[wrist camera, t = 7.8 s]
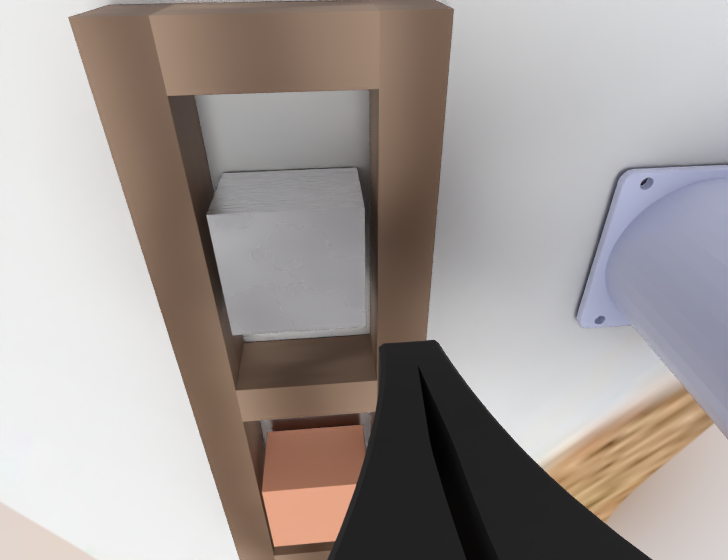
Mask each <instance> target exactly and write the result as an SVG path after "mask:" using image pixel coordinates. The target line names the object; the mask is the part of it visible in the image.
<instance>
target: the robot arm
mask: <svg viewBox="0 0 728 560" xmlns="http://www.w3.org/2000/svg"><path fill="white" fill-rule="evenodd" d="M645 178H648V180H647V181H646V183H645V184H643V185H641V186H640V184H641V182H642V181H643V180H644V179H645ZM599 316H600V317H599ZM597 317H599V318H597ZM596 318H597V319H596ZM576 320H577V322H578V323H579V325H580V326H581V327H583V328H596V327H611V326H626V325H633V326H634V327H635V329H636V330H637V331H638V332H639V333H640V335H641V336H642V337H643V338H644V339H645V341H646V342H647V343H648V344H649V345H650V347H651V348H652V349H653V350H654V351H655V353H656V354H657V355H658V356H659V357H660V359H661V360H662V361H663V362H664V363H665V365H666V366H667V367H668V368H669V369H670V371H671V372H672V373H673V374H674V375H675V377H676V378H677V379H678V380H679V381H680V383H681V384H682V385H683V386H684V387H685V389H686V390H687V391H688V392H689V393H690V395H691V396H692V397H693V398H694V399H695V401H696V402H697V403H698V404H699V405H700V407H701V408H702V409H703V410H704V411H705V413H706V414H707V415H708V416H709V417H710V419H711V420H712V421H713V422H714V423H715V425H716V426H717V427H718V428H719V429H720V430H721V432H722V433H723V434H724V435H725V436H726V438H727V439H728V165H711V166H689V167H666V168H644V169H631V170H628V171H626V172H625V173H624V174H623V175H622V176H621V177H620V179H619V181H618V183H617V187H616V190H615V193H614V196H613V200H612V203H611V206H610V209H609V213H608V216H607V219H606V222H605V226H604V229H603V232H602V235H601V239H600V242H599V245H598V249H597V252H596V255H595V258H594V262H593V265H592V268H591V271H590V275H589V278H588V281H587V284H586V288H585V291H584V294H583V297H582V301H581V304H580V307H579V310H578V314H577V317H576ZM327 560H652V559H650V558H649V557H648V556H647V555H645V554H644V553H643V552H641V551H640V550H639V549H637V548H636V547H635V546H633V545H632V544H631V543H629V542H628V541H627V540H625V539H624V538H623V537H621V536H620V535H619V534H617V533H616V532H615V531H614V530H612V529H611V528H610V527H609V526H608V525H607V524H605V523H604V522H603V521H602V520H600V519H599V518H598V517H597V516H596V515H594V514H593V513H592V512H591V511H589V510H588V509H587V508H586V507H585V506H583V505H582V504H581V503H580V502H578V501H577V500H576V499H575V498H574V497H573V496H571V495H570V494H569V493H568V492H567V491H566V490H565V489H564V488H563V487H561V486H560V485H559V484H558V483H557V482H556V481H555V480H554V479H553V478H552V477H550V476H549V475H548V474H547V473H546V472H545V471H544V470H543V469H542V468H541V467H540V466H539V465H538V464H537V463H536V462H535V461H534V460H533V459H532V458H531V457H530V456H529V455H528V454H527V453H526V452H525V451H524V450H523V449H522V448H521V447H520V446H519V445H518V444H517V443H516V442H515V440H514V439H513V438H512V437H511V436H510V435H509V434H508V433H507V432H506V431H505V429H504V428H503V427H502V426H501V425H500V424H499V423H498V422H497V420H496V419H495V418H494V417H493V416H492V415H491V413H490V412H489V411H488V410H487V409H486V407H485V406H484V405H483V404H482V402H481V401H480V400H479V399H478V397H477V396H476V395H475V394H474V392H473V391H472V390H471V389H470V387H469V386H468V385H467V383H466V382H465V381H464V379H463V378H462V377H461V375H460V374H459V373H458V371H457V370H456V368H455V367H454V366H453V364H452V363H451V361H450V360H449V358H448V357H447V355H446V354H445V352H444V351H443V349H442V348H441V346H440V344H439V343H438V342H437V341H435V340H428V341H413V342H397V343H383V344H382V345H381V346H380V347H379V363H378V399H377V405H376V411H375V417H374V421H373V426H372V430H371V434H370V438H369V442H368V446H367V450H366V454H365V458H364V461H363V465H362V468H361V471H360V474H359V478H358V481H357V484H356V487H355V490H354V493H353V496H352V498H351V501H350V504H349V507H348V509H347V512H346V515H345V518H344V520H343V523H342V526H341V528H340V531H339V533H338V536H337V538H336V541H335V543H334V545H333V547H332V550H331V552H330V554H329V557H328V559H327Z"/></svg>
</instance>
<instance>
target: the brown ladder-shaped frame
mask: <svg viewBox="0 0 728 560" xmlns="http://www.w3.org/2000/svg"><path fill="white" fill-rule="evenodd" d="M453 12H454V9H453V8H451V7H449V6H446V5H444V4H442V3H440V2H438V1H436V0H328V1H278V2H228V3H178V4H129V5H107V6H103V7H100V8H97V9H94V10H90V11H87V12H84V13H81V14H77V15H74V16H71V17H68V18H69V21H70V24H71V27H72V30H73V34H74V37H75V40H76V43H77V46H78V49H79V53H80V56H81V59H82V62H83V65H84V68H85V72H86V75H87V78H88V81H89V84H90V87H91V91H92V94H93V97H94V100H95V103H96V106H97V110H98V113H99V116H100V119H101V122H102V125H103V129H104V132H105V135H106V138H107V141H108V144H109V148H110V151H111V154H112V157H113V160H114V163H115V167H116V170H117V173H118V176H119V179H120V182H121V186H122V189H123V192H124V195H125V198H126V201H127V205H128V208H129V211H130V214H131V217H132V220H133V224H134V227H135V230H136V233H137V236H138V239H139V243H140V246H141V249H142V252H143V255H144V258H145V262H146V265H147V268H148V271H149V274H150V277H151V281H152V284H153V287H154V290H155V293H156V296H157V300H158V303H159V306H160V309H161V312H162V315H163V319H164V322H165V325H166V328H167V331H168V334H169V338H170V341H171V344H172V347H173V350H174V353H175V357H176V360H177V363H178V366H179V369H180V372H181V376H182V379H183V382H184V385H185V388H186V391H187V395H188V398H189V401H190V404H191V407H192V410H193V414H194V417H195V420H196V423H197V426H198V429H199V433H200V436H201V439H202V442H203V445H204V448H205V452H206V455H207V458H208V461H209V464H210V467H211V471H212V474H213V477H214V480H215V483H216V486H217V490H218V493H219V496H220V499H221V502H222V505H223V509H224V512H225V515H226V518H227V521H228V524H229V528H230V531H231V534H232V537H233V540H234V543H235V547H236V550H237V553H238V556H239V559H240V560H327V559H328V557H329V554H330V552H331V550H332V547H333V545H334V543H335V541H331V542H320V543H309V544H298V545H287V546H276V547H274V543H273V539H272V534H271V530H270V525H269V521H268V517H267V512H266V508H265V503H264V499H263V495H262V486H263V475H264V465H265V454H266V450H265V445H264V440H263V435H262V430H261V425H260V420H272V419H286V418H299V417H312V416H326V415H339V414H352V413H365V412H371V430H372V426H373V421H374V417H375V411H376V405H377V399H378V363H379V347H380V346H381V345H382V344H383V343H397V342H413V341H426V335H427V323H428V311H429V300H430V288H431V276H432V264H433V252H434V240H435V228H436V216H437V204H438V192H439V180H440V168H441V156H442V144H443V132H444V120H445V108H446V96H447V84H448V72H449V60H450V48H451V36H452V24H453ZM368 89H369V111H370V335H357V336H341V337H326V338H310V339H295V340H280V341H264V342H249V343H244V341H243V336H242V335H232V331H231V327H230V322H229V317H228V313H227V308H226V304H225V299H224V294H223V290H222V285H221V281H220V276H219V271H218V267H217V262H216V258H215V253H214V248H213V244H212V239H211V235H210V230H209V225H208V221H207V216H206V214H207V212H208V209H209V207H210V204H211V202H212V199H213V197H214V192H213V187H212V182H211V177H210V172H209V167H208V162H207V157H206V152H205V148H204V143H203V138H202V133H201V128H200V123H199V118H198V113H197V108H196V103H195V98H194V95H212V94H243V93H274V92H305V91H336V90H368Z"/></svg>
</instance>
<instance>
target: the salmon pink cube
mask: <svg viewBox="0 0 728 560" xmlns="http://www.w3.org/2000/svg"><path fill="white" fill-rule="evenodd" d="M365 454H366V451H365V441H364V432H363V425H352V426H339V427H326V428H313V429H300V430H287V431H274V432H267V443H266V454H265V465H264V475H263V486H262V495H263V499H264V503H265V508H266V512H267V517H268V521H269V525H270V530H271V534H272V539H273V543H274V547H276V546H287V545H298V544H309V543H320V542H331V541H336V538H337V536H338V533H339V531H340V528H341V526H342V523H343V520H344V518H345V515H346V512H347V509H348V507H349V504H350V501H351V498H352V496H353V493H354V490H355V487H356V484H357V481H358V478H359V474H360V471H361V468H362V465H363V461H364V458H365Z"/></svg>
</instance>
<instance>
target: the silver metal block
mask: <svg viewBox="0 0 728 560" xmlns="http://www.w3.org/2000/svg"><path fill="white" fill-rule="evenodd" d="M206 216H207V221H208V225H209V230H210V235H211V239H212V244H213V248H214V253H215V258H216V262H217V267H218V271H219V276H220V281H221V285H222V290H223V294H224V299H225V304H226V308H227V313H228V317H229V322H230V327H231V331H232V335H246V334H262V333H277V332H293V331H309V330H324V329H340V328H356V327H366V288H365V207H364V201H363V196H362V191H361V186H360V181H359V176H358V171H357V167H355V168H331V169H308V170H284V171H261V172H237V173H222V176H221V179H220V181H219V184H218V186H217V189H216V191H215V194H214V197H213V199H212V202H211V204H210V207H209V209H208V212H207V214H206Z"/></svg>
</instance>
